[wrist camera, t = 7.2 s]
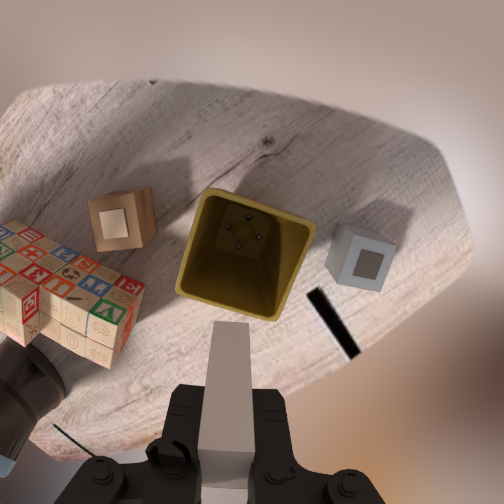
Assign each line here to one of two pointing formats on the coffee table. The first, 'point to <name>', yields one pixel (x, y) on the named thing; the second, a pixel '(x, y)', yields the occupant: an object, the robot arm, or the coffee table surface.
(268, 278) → the flower pot
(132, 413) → the coffee table surface
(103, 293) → the stack of blocks
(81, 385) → the coffee table surface
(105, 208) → the walnut cube marked
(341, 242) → the grey cube marked
